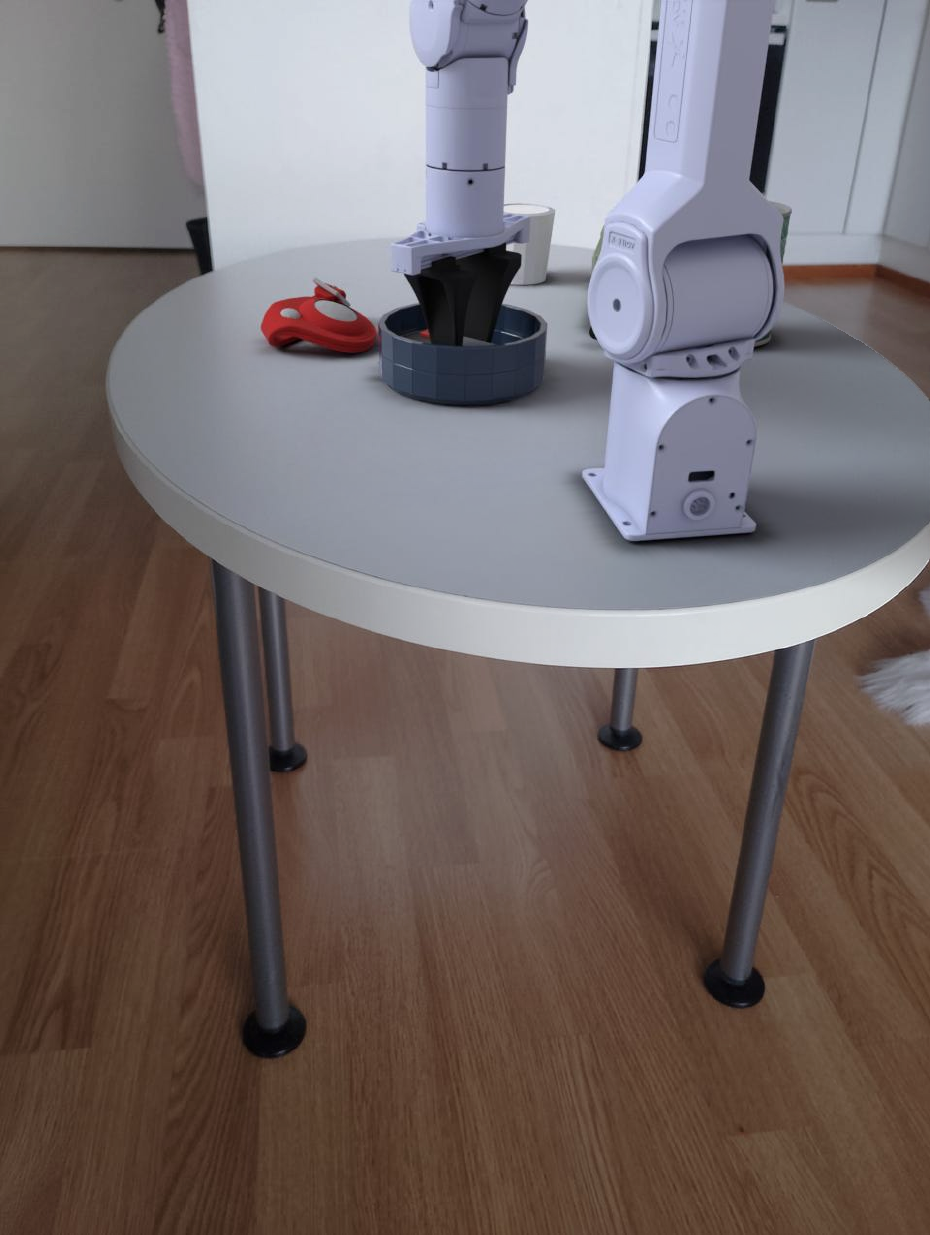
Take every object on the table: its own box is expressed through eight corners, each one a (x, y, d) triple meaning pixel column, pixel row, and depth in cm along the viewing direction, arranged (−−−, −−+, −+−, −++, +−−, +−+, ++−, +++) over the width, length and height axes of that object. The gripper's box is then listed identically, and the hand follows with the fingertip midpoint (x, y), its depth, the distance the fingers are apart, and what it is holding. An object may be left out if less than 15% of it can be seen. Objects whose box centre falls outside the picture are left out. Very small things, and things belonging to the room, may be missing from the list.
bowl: (562, 403, 80) (566, 344, 77) (391, 411, 77) (390, 351, 75) (522, 350, 90) (524, 297, 88) (371, 356, 88) (370, 302, 86)
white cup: (479, 282, 110) (481, 212, 106) (496, 268, 115) (499, 200, 112) (543, 288, 108) (547, 217, 105) (558, 273, 114) (562, 205, 110)
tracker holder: (399, 336, 89) (290, 323, 84) (384, 382, 92) (277, 372, 86) (347, 271, 97) (244, 255, 91) (335, 316, 99) (233, 302, 94)
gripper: (480, 149, 83) (476, 321, 90) (355, 170, 73) (362, 363, 80) (556, 158, 79) (545, 337, 86) (435, 183, 69) (435, 383, 76)
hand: (462, 351), depth 83 cm, fingers closed on remote, 3 cm apart
